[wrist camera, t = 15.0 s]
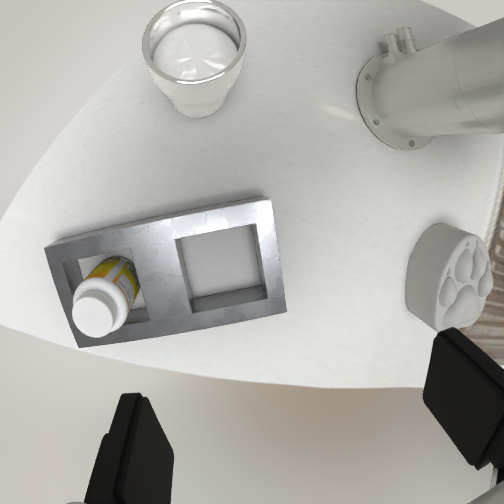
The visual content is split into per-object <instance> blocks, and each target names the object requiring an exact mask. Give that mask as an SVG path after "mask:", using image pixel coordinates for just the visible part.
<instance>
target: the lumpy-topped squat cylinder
mask: <svg viewBox="0 0 504 504" xmlns="http://www.w3.org/2000/svg"><path fill="white" fill-rule="evenodd" d="M492 287H493V276H492V273H491V265H490V259H489V254H488V251H487V248H486V246H485V244H484V242H483V241H482V240H481V239H480V238H479V237H478V236H477V235H475V234H472V233H469V232H466V231H463V230H460V229H457V228H454V227H451V226H447V225H444V224H440V223H439V224H434V225H432V226H431V227H429V228H428V229H427V230H426V231H425V232H424V233H423V234H422V236H421V237H420V238H419V240H418V242H417V244H416V246H415V248H414V250H413V252H412V254H411V256H410V258H409V262H408V267H407V275H406V286H405V301H406V306H407V308H408V310H409V311H410V312H412V313H413V314H414V315H415V316H417V317H418V318H419V319H421V320H422V321H423V322H425V323H426V324H427V325H428V326H430V327H431V328H433V329H434V330H435V331H436V332H440V331H442V330H445V329H448V328H450V327H455V328H456V329H457V328H461V327H468V326H470V325H472V324H473V323H474V322H475V321H476V320H477V319H478V317H479V316H480V314H481V312H482V310H483V308H484V305H485V301H486V297H487V295H488V294H489V293H490V292H491V290H492Z"/></svg>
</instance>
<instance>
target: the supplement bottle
mask: <svg viewBox="0 0 504 504" xmlns="http://www.w3.org/2000/svg"><path fill="white" fill-rule="evenodd" d="M139 289H140V283H139V279H138V276H137V272H136V268H135V266H134V265H133V264H132V263H131V262H130V261H128V260H126V259H124V258H121V257H111V258H107V259H105V260H104V261H102V262H101V263H100V264H99V265H98V266H97V267H96V268H95V269H94V270H93V271H92V272H91V273H90V274H89V275H88V276H87V277H86V278H85V280H84V281H83V282H82V283H81V284H80V285H79V286H78V287H77V289H76V291H75V293H74V297H73V309H72V317H73V321H74V323H75V325H76V326H77V328H78V329H79V330H80V331H81V332H82V333H84V334H85V335H87V336H90V337H94V338H98V337H103V336H105V335H107V334H108V333H109V332H113V331H115V330H117V329H118V328H120V327H121V326H122V325H123V323H124V322H125V320H126V318H127V316H128V313H129V311H130V309H131V307H132V305H133V303H134V300H135V298H136V296H137V294H138V292H139Z"/></svg>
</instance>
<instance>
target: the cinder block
mask: <svg viewBox="0 0 504 504" xmlns="http://www.w3.org/2000/svg"><path fill="white" fill-rule="evenodd" d="M248 224H252V229H253V235H254V241H255V247H256V253H257V259H258V265H259V271H260V278H261V284H262V285H260V286H255V287H250V288H245V289H240V290H235V291H230V292H225V293H220V294H215V295H210V296H205V297H199V298H194V299H193V296H192V292H191V288H190V283H189V279H188V275H187V271H186V267H185V262H184V258H183V253H182V249H181V244H180V240H179V238H181V237H186V236H191V235H196V234H201V233H206V232H211V231H216V230H222V229H227V228H232V227H237V226H243V225H248ZM128 248H130V249H131V253H132V257H133V261H134V264H135V268H136V272H137V276H138V279H139V283H140V286H141V290H142V293H143V297H144V300H145V303H146V307H145V308H139V309H133V310H130V311H129V313H128V316H127V318H126V320H125V322H124V323H123V325H122V326H121V327H120V328H118V329H117V330H115V331H113V332H109V333H108V334H107V335H105V336H103V337H98V338H94V337H90V336H87V335H85V334H84V333H82V332H81V331H80V330H79V329H78V328H77V326H76V325H75V323H74V321H73V317H72V309H73V297H74V293H75V291H76V289H77V287H78V286H79V285H80V284H81V283H82V282H83V281H84V280H83V277H82V274H81V270H80V267H79V264H78V259H82V258H87V257H91V256H96V255H100V254H105V253H109V252H114V251H119V250H123V249H128ZM44 250H45V253H46V257H47V260H48V264H49V267H50V270H51V274H52V277H53V280H54V283H55V286H56V289H57V292H58V295H59V298H60V301H61V304H62V306H63V309H64V312H65V315H66V317H67V320H68V322H69V325H70V328H71V330H72V333H73V335H74V338H75V340H76V342H77V345H78V347H79V348H83V347H91V346H99V345H107V344H114V343H121V342H128V341H135V340H142V339H148V338H155V337H161V336H167V335H173V334H179V333H184V332H190V331H196V330H201V329H207V328H212V327H217V326H222V325H227V324H233V323H238V322H242V321H247V320H252V319H257V318H262V317H266V316H271V315H275V314H280V313H284V312H287V309H286V302H285V294H284V287H283V280H282V273H281V265H280V258H279V251H278V245H277V238H276V231H275V224H274V218H273V211H272V204H271V199H269V198H267V197H265V196H260V197H254V198H248V199H243V200H237V201H232V202H226V203H221V204H216V205H210V206H205V207H200V208H195V209H190V210H185V211H180V212H175V213H171V214H166V215H161V216H156V217H152V218H147V219H143V220H138V221H134V222H129V223H125V224H120V225H116V226H112V227H108V228H103V229H99V230H95V231H91V232H87V233H83V234H79V235H75V236H71V237H67V238H63V239H59V240H57V241H55V242H54V243H52V244H50V245H48V246H47V247H45V248H44Z"/></svg>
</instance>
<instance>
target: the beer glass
mask: <svg viewBox="0 0 504 504" xmlns="http://www.w3.org/2000/svg"><path fill="white" fill-rule="evenodd" d="M245 47H246V30H245V27H244V24H243V22H242V20H241V19H240V17H239V16H238V15H237V13H236V12H235V11H233V10H232V9H231V8H230V7H228V6H227V5H225V4H223V3H221V2H218V1H215V0H180V1H177V2H175V3H173V4H170V5H168V6H167V7H165V8H163V9H162V10H161V11H159V12H158V13H157V14H156V15H155V16H154V17H153V18H152V19H151V21H150V22H149V24H148V25H147V27H146V29H145V32H144V35H143V39H142V51H143V55H144V58H145V60H146V64H147V67H148V70H149V73H150V75H151V77H152V79H153V81H154V82H155V84H156V85H157V87H158V88H159V89H160V90H161V91H162V92H163V93H164V94H165V95H166V96H167V97H169V98H170V99H171V102H172V104H173V106H174V107H175V108H176V110H177V111H179V112H180V113H181V114H183V115H185V116H188V117H193V118H201V117H206V116H209V115H211V114H213V113H214V112H216V111H217V110H218V109H219V108H220V107H221V106H222V104H223V103H224V101H225V99H226V95H227V91H228V90H229V89H230V88H231V87H232V85H233V84H234V82H235V81H236V79H237V77H238V75H239V73H240V70H241V67H242V63H243V59H244V52H245Z"/></svg>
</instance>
